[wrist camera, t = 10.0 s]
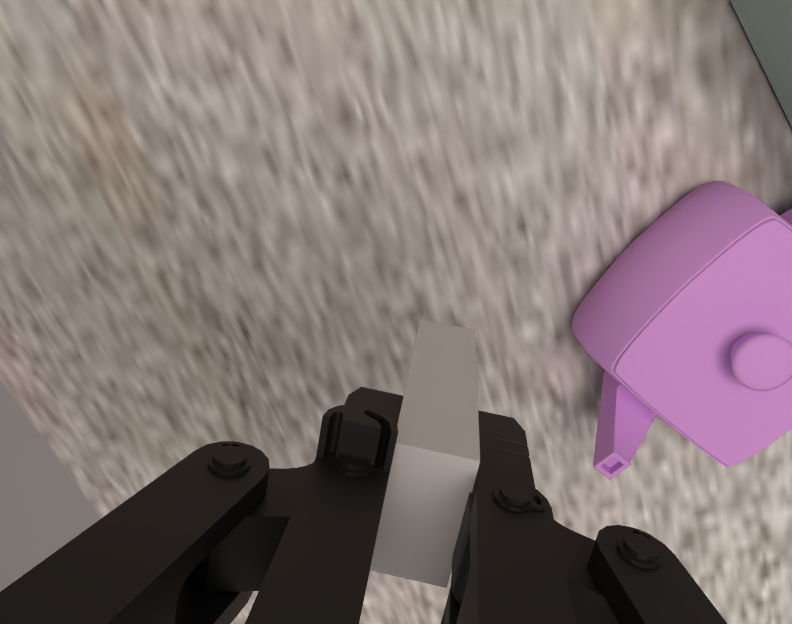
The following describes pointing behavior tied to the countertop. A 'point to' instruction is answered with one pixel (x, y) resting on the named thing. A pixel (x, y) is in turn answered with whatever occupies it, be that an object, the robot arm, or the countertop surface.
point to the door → (771, 42)
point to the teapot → (695, 330)
